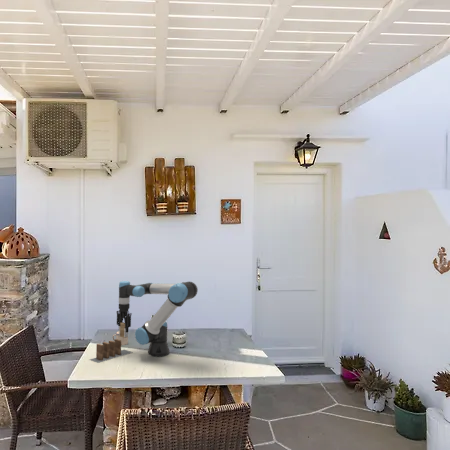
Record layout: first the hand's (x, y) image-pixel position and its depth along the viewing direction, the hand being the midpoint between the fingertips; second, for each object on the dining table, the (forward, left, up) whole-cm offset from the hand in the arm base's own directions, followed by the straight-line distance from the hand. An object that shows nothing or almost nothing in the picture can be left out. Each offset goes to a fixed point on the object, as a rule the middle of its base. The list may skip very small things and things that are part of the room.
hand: (123, 335), depth 299 cm
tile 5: (0, +20, -12) cm, 23 cm away
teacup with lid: (+19, -13, -13) cm, 26 cm away
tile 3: (0, +10, -12) cm, 15 cm away
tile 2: (0, +5, -12) cm, 13 cm away
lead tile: (0, 0, -1) cm, 1 cm away
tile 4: (0, +15, -12) cm, 19 cm away
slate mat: (0, +10, -12) cm, 16 cm away
